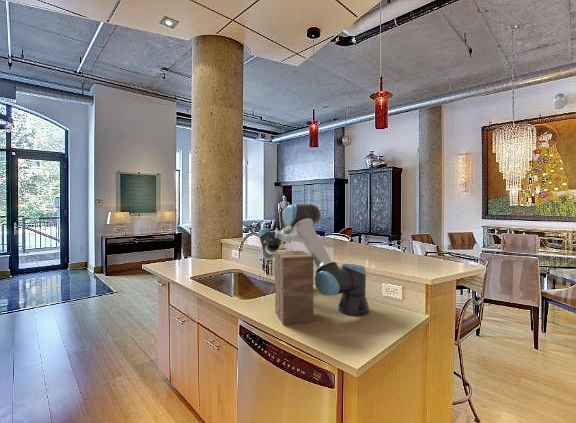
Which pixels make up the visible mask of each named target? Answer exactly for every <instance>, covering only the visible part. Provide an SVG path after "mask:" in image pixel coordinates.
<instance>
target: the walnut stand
mask: <svg viewBox="0 0 576 423" xmlns="http://www.w3.org/2000/svg"><path fill="white" fill-rule="evenodd" d="M274 258H275V259H274V260H275V261H274V262H275V263H274V264H275V265H274V266H275V268H274V270H275V271H274V274H275V275H274V276H275V279H274V280H275V283H274V285H275V292H274V293H275V296H274V297H275V299H274V301H275V302H274V306H275V309H274V310H275V312H274V313H275V314H276V316H277V318H278V319H279V321H280V322H281V324H282V325H283V326H290V325H299V324H308V323H309V324H310V323H314V263H313V256H312V255H310V254H308V252H307V251H303V250H296V251H295V250H285V251H277V252H275V256H274Z"/></svg>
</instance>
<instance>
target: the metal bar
mask: <svg viewBox="0 0 576 423" xmlns="http://www.w3.org/2000/svg"><path fill="white" fill-rule="evenodd" d="M280 231H281V230H278V234H277V236H276V238H278V239H280V240H282V241H284V242H286V243H292V238H291V236H290V235H287V234H285V233H283V232H280ZM274 232H275V230H274Z"/></svg>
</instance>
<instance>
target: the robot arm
mask: <svg viewBox="0 0 576 423" xmlns="http://www.w3.org/2000/svg"><path fill="white" fill-rule="evenodd" d="M321 218H322V212H321V209H320V208H319V207H318V206H317V205H315V204H312V203H311V204H310V203H303V204H299V203H298V204H295V203H293V204H289V205H286V207H285V209H284V210H283V224H284V225H285V226H286V227H283V228H282V229H281V230H278V229H279V228H277V227H276V228H275V230H274V231H275V232H274V231H271V230H270V228H268V227H264V228H261V229H260V230H258V238H259V241H260V244H261V247H262V257H263V258H264V259H265V260H268V261H270V260H272V259H274V258H275V252H278V250H279V248H280V246H281V245H282V244H284V245H285V244H286V243H287V242H284V241H282V240H280V239H278V238H276V236H277V234H278V231H280V232H283V233H285V234H287V235H290V236H291V239H293V237H294V236H295V235H298V237H299V238H300V239H301V242H302V244H303V246H304V247H305V250H306V253H308V254H310V255H312V256H313V266H314V267H315V271H314V272H315V277H314V281H315V282H314V284H315V288H316V289H317V291H318V292H319V293H320V294H321V295H323V296H326V297H329V296H336V295H339V294H340V295H341V296H340V299H339V302H338V304H337V306H338V311H339V312H340V313H342V314H344V315H347V316H348V315H349V316H364V315H367V314H369V312H370V306H369V303H368V299H367V296H366V295H367V294H366V292H367V291H366V287H367V286H366V285H367V284H366V282H367V274H366V273H367V272H366V270H367V269H366V267H365V266H364V265H360V264H354V263H343V264H341V265H342V266H341V267H340V266H339V264H338V263H337V262H335V261H333V260H332V259H331V257H330V255H329V254H328V251H327V250H326V248H325V246H324V244H323V243H322V241H321V238H320V237H319V236H318V233H317V232H316V230H315V229H314V226H315V225H317V224H318V223H319V222H320V221H321Z"/></svg>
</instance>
